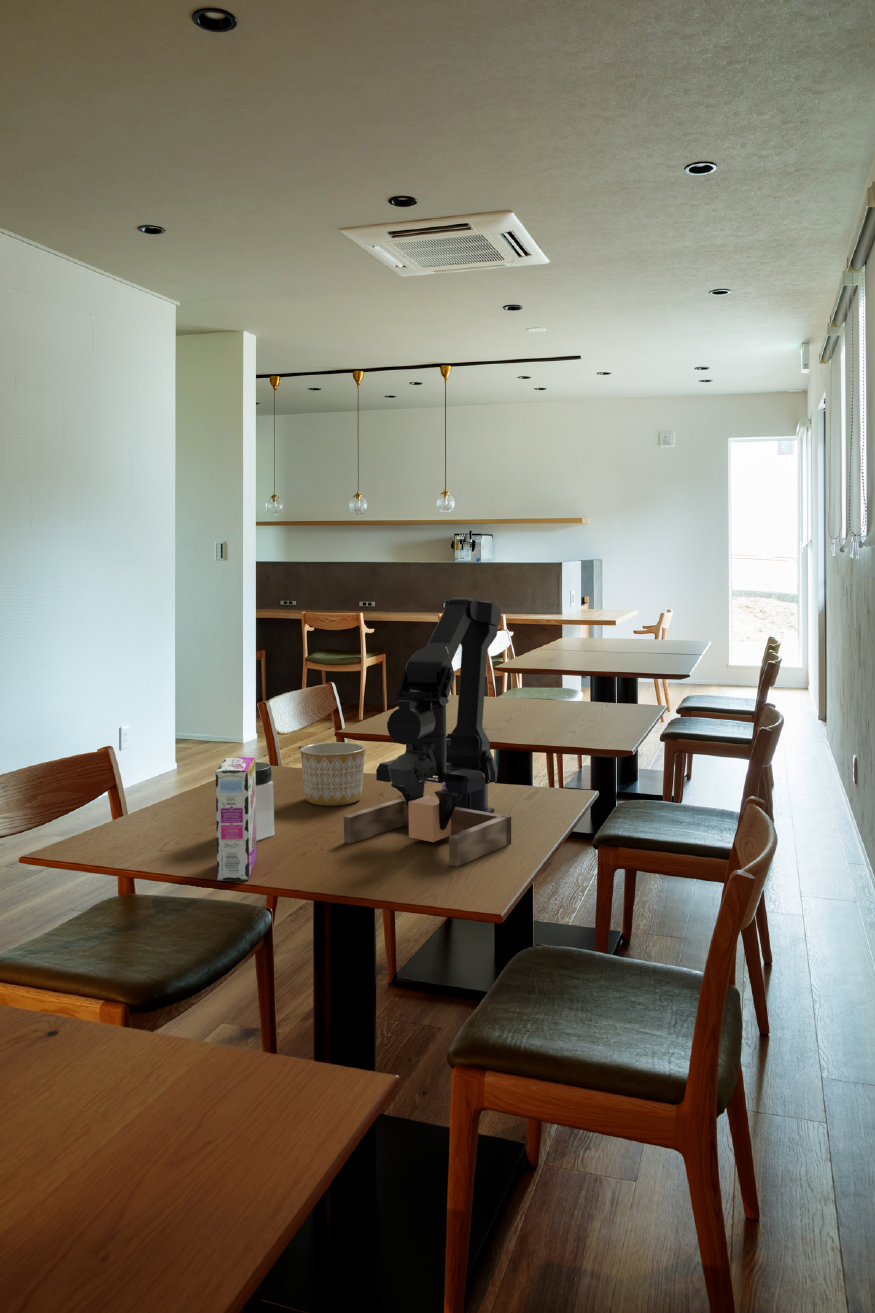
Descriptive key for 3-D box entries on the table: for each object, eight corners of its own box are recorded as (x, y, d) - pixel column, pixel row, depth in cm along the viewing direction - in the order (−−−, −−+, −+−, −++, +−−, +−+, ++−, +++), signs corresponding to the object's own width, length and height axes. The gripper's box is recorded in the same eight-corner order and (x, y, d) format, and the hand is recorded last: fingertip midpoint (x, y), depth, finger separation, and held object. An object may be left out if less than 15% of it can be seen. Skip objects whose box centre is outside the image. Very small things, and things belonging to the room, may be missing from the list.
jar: (279, 838, 163) (277, 768, 162) (231, 845, 160) (229, 773, 158) (264, 826, 171) (263, 759, 170) (219, 832, 168) (216, 764, 166)
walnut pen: (402, 822, 173) (401, 797, 172) (511, 843, 159) (511, 816, 159) (344, 842, 160) (343, 816, 160) (457, 866, 147) (457, 838, 146)
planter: (377, 802, 188) (377, 749, 187) (319, 811, 181) (318, 756, 180) (346, 790, 199) (345, 740, 198) (290, 798, 192) (289, 746, 191)
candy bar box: (251, 881, 141) (248, 770, 140) (216, 882, 141) (213, 771, 139) (259, 858, 152) (256, 755, 151) (226, 859, 152) (223, 756, 150)
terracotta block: (427, 830, 164) (426, 795, 163) (450, 835, 161) (450, 799, 160) (408, 837, 160) (408, 801, 159) (433, 842, 157) (432, 805, 156)
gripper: (353, 735, 158) (355, 829, 159) (446, 747, 147) (447, 847, 148) (396, 726, 167) (397, 815, 168) (486, 736, 156) (487, 831, 157)
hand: (429, 827), depth 160 cm, fingers closed on terracotta block, 5 cm apart
